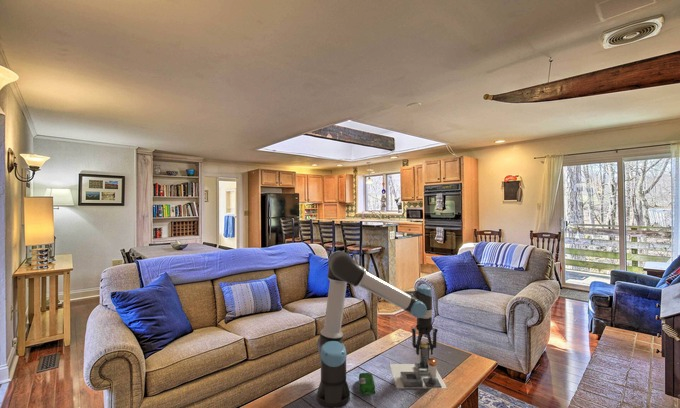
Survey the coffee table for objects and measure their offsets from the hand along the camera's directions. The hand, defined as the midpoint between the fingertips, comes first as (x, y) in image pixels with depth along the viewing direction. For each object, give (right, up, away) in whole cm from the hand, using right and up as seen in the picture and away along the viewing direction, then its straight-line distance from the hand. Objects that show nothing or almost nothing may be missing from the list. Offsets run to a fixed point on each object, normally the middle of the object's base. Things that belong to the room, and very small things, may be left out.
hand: (424, 360), depth 164 cm
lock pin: (+1, -5, -11) cm, 12 cm away
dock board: (-5, -6, -4) cm, 9 cm away
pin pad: (+1, -6, -11) cm, 12 cm away
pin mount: (-9, -6, -10) cm, 15 cm away
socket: (0, -5, 0) cm, 5 cm away
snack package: (-31, -7, -14) cm, 35 cm away
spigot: (0, -3, 0) cm, 3 cm away
